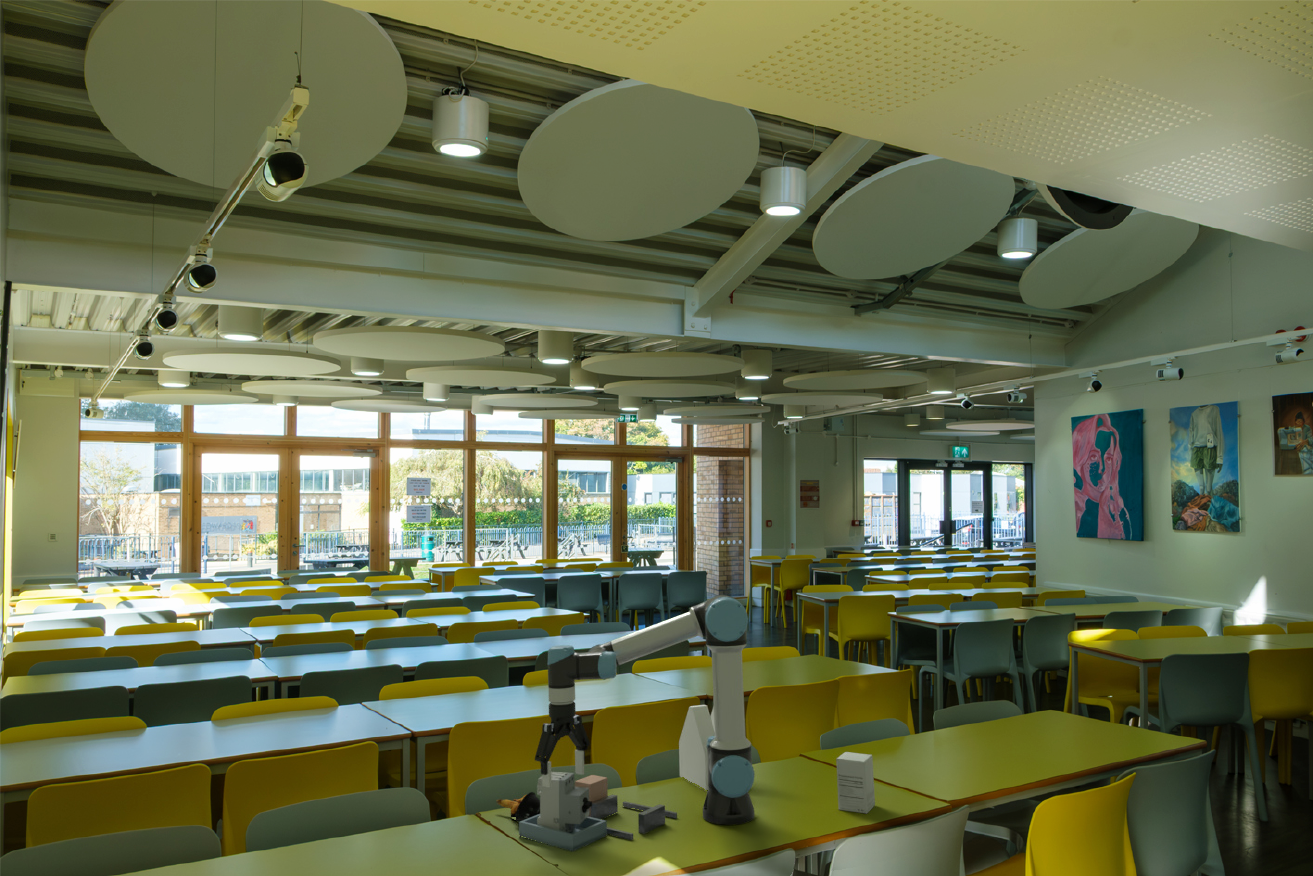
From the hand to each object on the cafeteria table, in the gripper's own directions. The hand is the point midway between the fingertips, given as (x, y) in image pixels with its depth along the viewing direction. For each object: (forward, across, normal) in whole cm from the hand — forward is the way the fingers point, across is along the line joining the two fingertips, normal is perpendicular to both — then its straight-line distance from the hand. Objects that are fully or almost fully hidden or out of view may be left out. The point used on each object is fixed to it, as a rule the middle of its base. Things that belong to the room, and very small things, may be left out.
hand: (563, 780), depth 237 cm
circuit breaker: (+14, 0, 0) cm, 14 cm away
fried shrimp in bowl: (+15, -4, -21) cm, 26 cm away
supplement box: (+17, -67, +58) cm, 90 cm away
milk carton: (+16, -68, +6) cm, 70 cm away
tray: (+15, 0, 0) cm, 15 cm away
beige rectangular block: (+15, -19, -6) cm, 25 cm away
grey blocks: (+15, -19, +8) cm, 25 cm away
